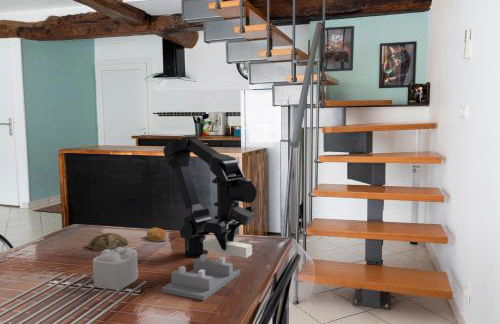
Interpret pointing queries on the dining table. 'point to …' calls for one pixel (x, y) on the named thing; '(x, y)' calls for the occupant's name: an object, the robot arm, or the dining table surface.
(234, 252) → the clay strip
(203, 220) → the robot arm
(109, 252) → the white lego brick
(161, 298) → the dining table surface
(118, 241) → the mottled brown rock
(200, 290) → the grey pegged plate
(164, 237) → the pastry
